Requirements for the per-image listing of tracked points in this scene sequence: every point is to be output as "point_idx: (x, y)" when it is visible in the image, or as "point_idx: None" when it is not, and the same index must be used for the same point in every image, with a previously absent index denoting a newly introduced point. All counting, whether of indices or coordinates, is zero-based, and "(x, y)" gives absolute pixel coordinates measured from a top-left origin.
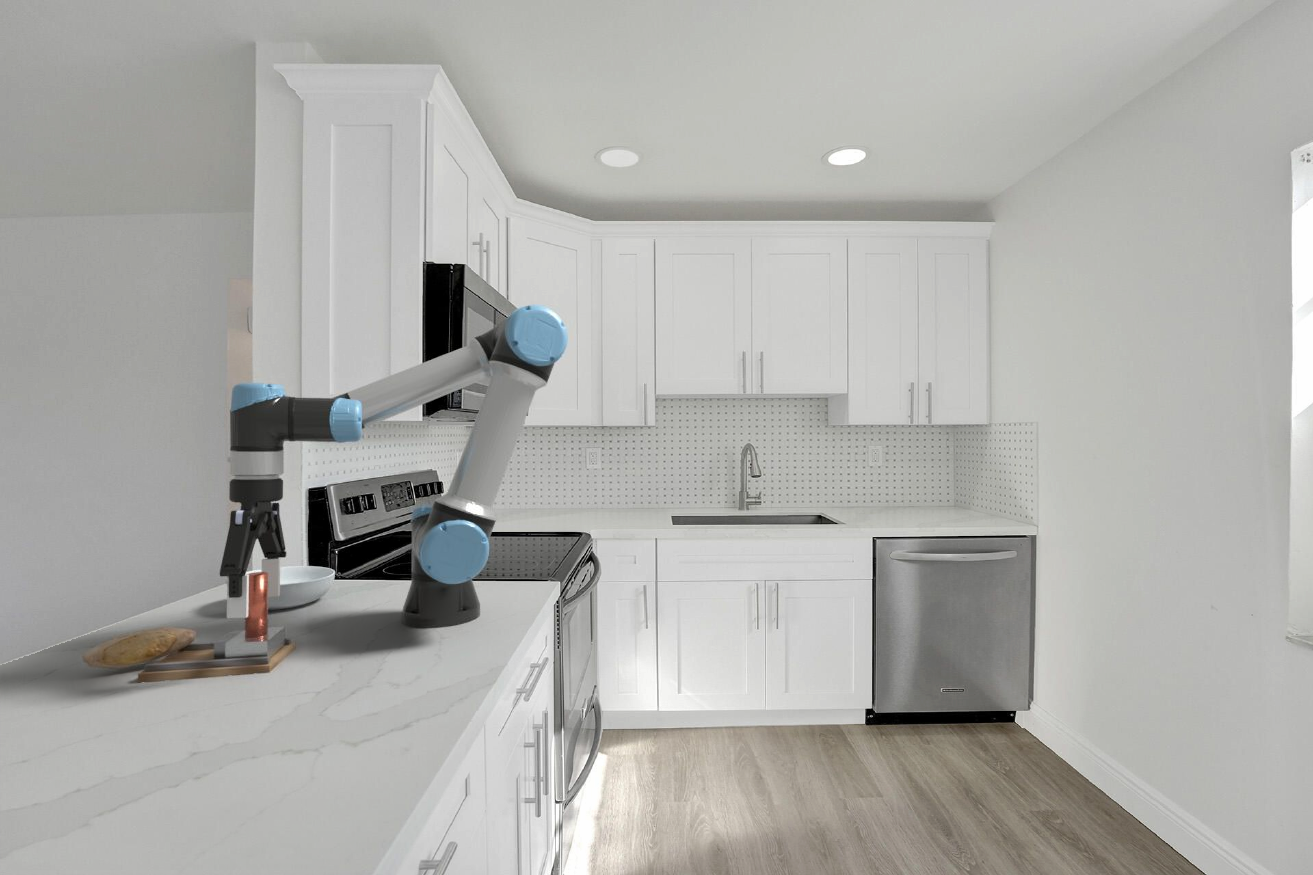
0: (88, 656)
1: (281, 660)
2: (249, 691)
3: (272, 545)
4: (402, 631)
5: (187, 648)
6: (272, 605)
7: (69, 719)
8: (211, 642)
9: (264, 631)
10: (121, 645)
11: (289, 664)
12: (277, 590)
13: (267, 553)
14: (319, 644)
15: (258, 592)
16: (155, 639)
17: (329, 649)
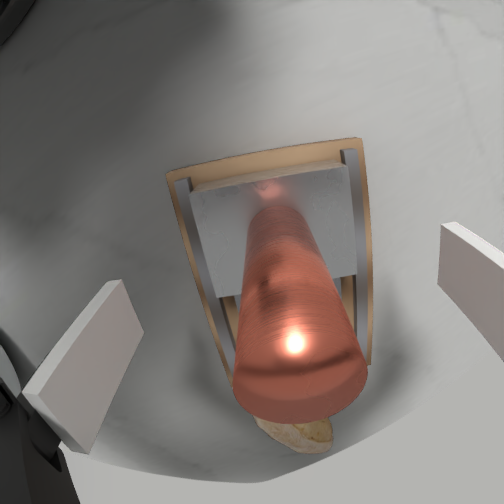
0: (332, 442)
1: (274, 149)
2: (437, 137)
3: (42, 498)
4: (44, 11)
5: None
6: (2, 349)
7: (470, 336)
8: (225, 348)
9: (288, 210)
10: (322, 434)
11: (279, 125)
12: (113, 294)
13: (49, 461)
14: (124, 136)
15: (334, 290)
16: None
17: (161, 86)
